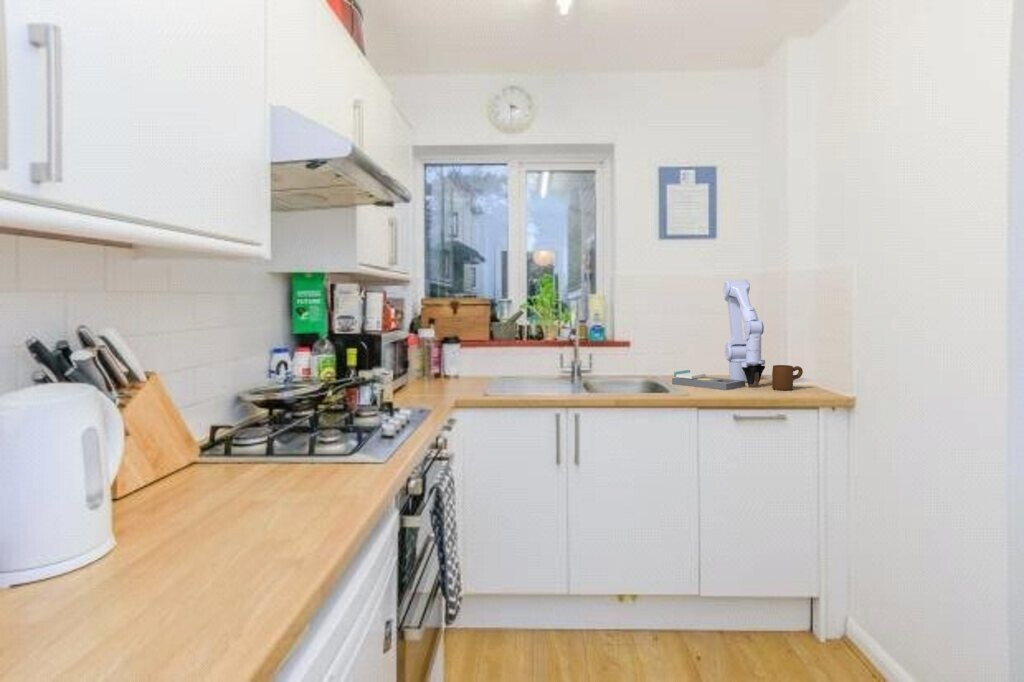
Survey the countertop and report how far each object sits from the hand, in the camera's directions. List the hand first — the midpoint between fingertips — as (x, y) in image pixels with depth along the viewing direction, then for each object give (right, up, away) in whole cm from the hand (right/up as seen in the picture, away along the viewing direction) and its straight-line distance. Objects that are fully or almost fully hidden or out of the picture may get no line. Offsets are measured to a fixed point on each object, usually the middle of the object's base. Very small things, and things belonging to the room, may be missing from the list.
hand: (753, 383), depth 261 cm
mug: (+11, -2, -8) cm, 13 cm away
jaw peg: (0, -1, 0) cm, 1 cm away
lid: (-22, +2, +14) cm, 26 cm away
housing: (-16, -1, +7) cm, 18 cm away
